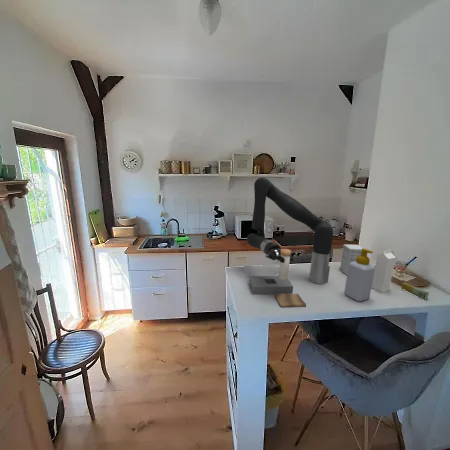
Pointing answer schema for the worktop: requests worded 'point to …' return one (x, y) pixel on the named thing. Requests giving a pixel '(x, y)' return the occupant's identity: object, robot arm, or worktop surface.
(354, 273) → the soap bottle
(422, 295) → the medication box
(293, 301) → the pad
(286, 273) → the plug
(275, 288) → the grey base plate
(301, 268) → the worktop surface
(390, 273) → the milk
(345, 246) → the supplement box
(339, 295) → the worktop surface
